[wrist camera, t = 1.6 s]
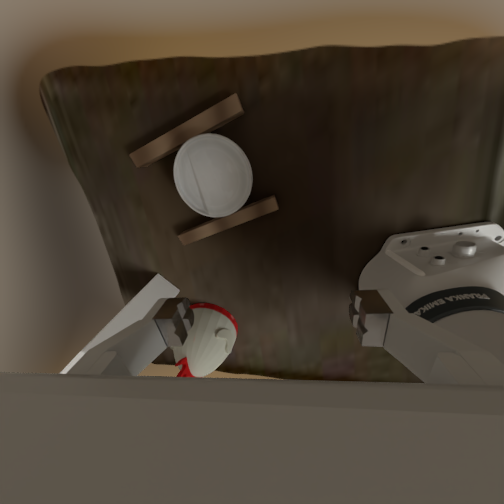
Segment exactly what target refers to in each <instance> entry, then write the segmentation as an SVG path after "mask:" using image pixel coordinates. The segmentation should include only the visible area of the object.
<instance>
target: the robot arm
mask: <svg viewBox="0 0 504 504" xmlns="http://www.w3.org/2000/svg"><path fill="white" fill-rule="evenodd" d="M403 240H404V242H403V243H401V242H402V241H403ZM350 299H351V301H352V303H351V304H350V305H349V315H350V320H351V322H352V325H353V326H354V327H356V328H357V331H356V334H357V336H358V339H359V341H360V343H361V345H362V346H379V347H383V348H385V349H386V350H387V351H388V352H389V353H390V354H392V355H393V356H394V357H395V358H396V359H397V360H399V361H400V362H401V363H402V364H403V365H405V366H406V367H407V368H408V369H409V370H410V371H412V372H413V373H414V374H415V375H416V376H417V377H419V378H420V379H421V380H422V381H423V382H425V383H426V384H425V383H388V382H351V381H314V380H276V379H274V380H273V379H237V378H201V377H162V376H137V375H138V374H139V373H140V372H141V371H142V370H143V369H144V368H145V367H146V366H148V365H149V364H150V363H151V362H152V361H153V360H154V359H155V358H156V357H157V356H158V355H159V354H161V353H162V352H163V351H164V350H165V349H166V348H167V347H171V346H183V344H184V342H185V340H186V338H187V336H188V333H187V331H188V330H190V329H191V328H192V326H193V324H194V312H193V310H192V309H191V308H190V307H189V306H190V304H191V303H190V301H189V299H188V298H186V297H185V298H160V299H158V300H157V302H156V303H155V304H154V305H153V307H152V308H151V309H150V310H149V311H148V313H147V314H146V315H145V316H144V318H143V319H142V320H138V321H136V322H135V323H133V324H131V325H130V326H128V327H126V328H125V329H123V330H121V331H120V332H118V333H116V334H115V335H113V336H111V337H110V338H108V339H106V340H104V341H103V342H101V343H99V344H98V345H96V346H94V347H93V348H91V349H89V350H88V351H87V352H86V353H85V354H84V355H83V356H82V357H81V358H80V359H79V360H78V362H77V363H76V364H75V365H74V366H73V367H72V368H71V369H70V370H69V371H68V372H67V373H66V374H47V373H10V372H0V504H504V230H503V229H502V228H501V227H500V226H499V225H498V224H496V223H493V222H482V223H474V224H467V225H460V226H453V227H446V228H438V229H431V230H424V231H417V232H410V233H403V234H396V235H392V236H390V237H389V238H388V239H387V240H386V242H385V243H384V245H383V247H382V249H381V251H380V252H379V253H378V254H377V255H376V256H375V257H374V258H373V259H372V260H371V261H370V262H369V263H368V264H367V265H366V266H365V268H364V269H363V271H362V273H361V275H360V278H359V290H353V291H351V293H350Z"/></svg>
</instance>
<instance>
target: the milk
mask: <svg viewBox="0 0 504 504" xmlns="http://www.w3.org/2000/svg"><path fill="white" fill-rule="evenodd" d="M179 291H180V290H179V289H178V288H176V287H175V286H174V285H173V284H171V283H170V282H169V281H167V280H166V279H165V278H164V277H162V276H161V275H160V274H157V275H156V276H155V277H154V278H153V279H152V280H151V281H150V282H149V283H148V284H147V285H146V286H145V287H144V288H143V289H142V290H141V291H140V292H139V293H138V294H137V295H136V296H135V297H134V298H133V299H132V300H131V301H130V302H129V303H128V304H127V305H126V306H125V307H124V308H123V309H122V310H121V311H120V312H119V313H118V314H117V315H116V316H115V317H114V318H113V319H112V320H111V321H110V322H109V323H108V324H107V325H106V326H105V327H104V328H103V329H102V330H101V331H100V332H99V333H98V334H97V335H96V336H95V337H94V338H93V339H92V340H91V341H90V342H89V343H88V344H87V345H86V346H85V347H84V348H83V349H82V350H81V351H80V352H79V353H78V354H77V355H76V356H75V357H74V359H73V360H72V361H71V362H70V363H69V364H68V365H67V366H66V367H65V368H64V369H63V370H62V372H60V373H59V374H66V373H67V372H68V371H69V370H70V369H71V368H72V367H73V366H74V365H75V364H76V363H77V362H78V360H79V359H80V358H81V357H82V356H83V355H84V354H85V353H86V352H87V351H88V350H89V349H91V348H93V347H94V346H96V345H98V344H99V343H101V342H103V341H104V340H106V339H108V338H110V337H111V336H113V335H115V334H116V333H118V332H120V331H121V330H123V329H125V328H126V327H128V326H130V325H131V324H133V323H135V322H136V321H138V320H142V319H143V318H144V316H145V315H146V314H147V313H148V311H149V310H150V309H151V308H152V307H153V305H154V304H155V303H156V302H157V300H158V299H160V298H175V297H176V295H177V294H178V293H179Z"/></svg>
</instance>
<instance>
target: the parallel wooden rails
mask: <svg viewBox="0 0 504 504" xmlns="http://www.w3.org/2000/svg"><path fill="white" fill-rule="evenodd" d="M244 114H245V112H244V110H243V107H242V104H241V102H240V99H239V97H238V95H237V94H236V93H235V94H233V95H231V96H230V97H228V98H226V99H225V100H223V101H221V102H219V103H218V104H216V105H214V106H212V107H211V108H209V109H207V110H205V111H204V112H202V113H200V114H199V115H197V116H195V117H193V118H192V119H190V120H188V121H186V122H185V123H183V124H181V125H179V126H178V127H176V128H174V129H173V130H171V131H169V132H167V133H166V134H164V135H162V136H160V137H159V138H157V139H155V140H153V141H152V142H150V143H148V144H146V145H145V146H143V147H141V148H140V149H138V150H136V151H134V152H133V153H131V154H129V155H130V157H131V159H132V160H133V162H134V164H135V165H136V167H137V168H141V167H147V166H149V165H151V164H153V163H155V162H156V161H158V160H160V159H162V158H164V157H166V156H168V155H169V154H171V153H173V152H175V151H177V150H179V149H180V148H181V146H182V145H183V144H184V143H185V142H186V141H187V140H189V139H190V138H192V137H194V136H197V135H201V134H207V133H210V132H212V131H214V130H216V129H218V128H220V127H221V126H223V125H225V124H227V123H229V122H231V121H233V120H234V119H236V118H238V117H240V116H242V115H244ZM278 209H279V205H278V203H277V200H276V197H275V195H271V196H269V197H267V198H264V199H262V200H259V201H257V202H254V203H252V204H249V205H247V206H244V207H242V208H240V209H239V210H237V211H236V212H234V213H233V214H230V215H228V216H224V217H217V218H215V219H212V220H210V221H207V222H205V223H202V224H200V225H197V226H195V227H192V228H190V229H188V230H185V231H183V232H182V233H181V234H180V235H178V237H179V239H180V240H181V242H182V244H183V245H187V244H189V243H192V242H195V241H197V240H200V239H202V238H205V237H208V236H210V235H213V234H216V233H218V232H221V231H223V230H226V229H229V228H231V227H234V226H236V225H239V224H242V223H244V222H247V221H250V220H252V219H255V218H257V217H260V216H263V215H265V214H268V213H271V212H273V211H276V210H278Z"/></svg>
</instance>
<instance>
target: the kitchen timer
mask: <svg viewBox="0 0 504 504" xmlns="http://www.w3.org/2000/svg"><path fill="white" fill-rule="evenodd" d="M189 307H190V308H191V309H192V310H193V312H194V324H193V326H192V328H191V329H190V330H188V331H187V333H188V336H187V338H186V340H185V342H184V344H183V346H171V349H173V351H174V356H175V361H176V365H175V366H178V367H179V369H180V372H179V373H178V375H177V377H201V378H202V377H203V376H205V375H207V374H210V373H211V372H213V371H214V370H215V369H216V368H217V367H218V366H219V365H220V364H221V363H222V362H223V361H224V360H225V359H226V357H227V356H228V354H230V353H231V350H232V347H233V345H234V342H235V340H236V337H237V332H238V326H237V323H236V321H235V319H234V317H233V316H232V315H231V314H230V313H229V312H228V311H226V310H225V309H224V308H222V307H219V306H217V305H214V304H209V303H197V304H194V305H191V306H189Z"/></svg>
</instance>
